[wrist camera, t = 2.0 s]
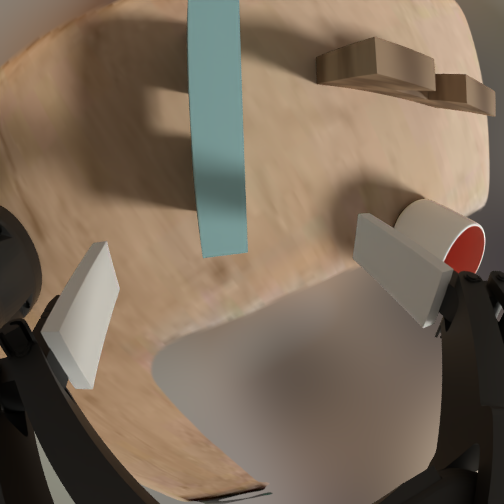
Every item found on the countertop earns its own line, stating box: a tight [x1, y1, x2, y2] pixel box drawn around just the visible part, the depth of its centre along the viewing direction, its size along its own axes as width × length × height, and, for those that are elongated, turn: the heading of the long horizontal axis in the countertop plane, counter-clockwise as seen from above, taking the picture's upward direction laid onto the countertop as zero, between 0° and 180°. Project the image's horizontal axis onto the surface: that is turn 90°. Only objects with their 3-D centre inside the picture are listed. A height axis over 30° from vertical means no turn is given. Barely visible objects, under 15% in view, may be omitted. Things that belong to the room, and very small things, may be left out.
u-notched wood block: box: [316, 37, 495, 117], centre depth 20 cm, size 18×3×10 cm, turn 92°
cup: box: [394, 199, 485, 273], centre depth 30 cm, size 10×10×10 cm
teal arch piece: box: [187, 0, 248, 258], centre depth 19 cm, size 18×3×10 cm, turn 2°
